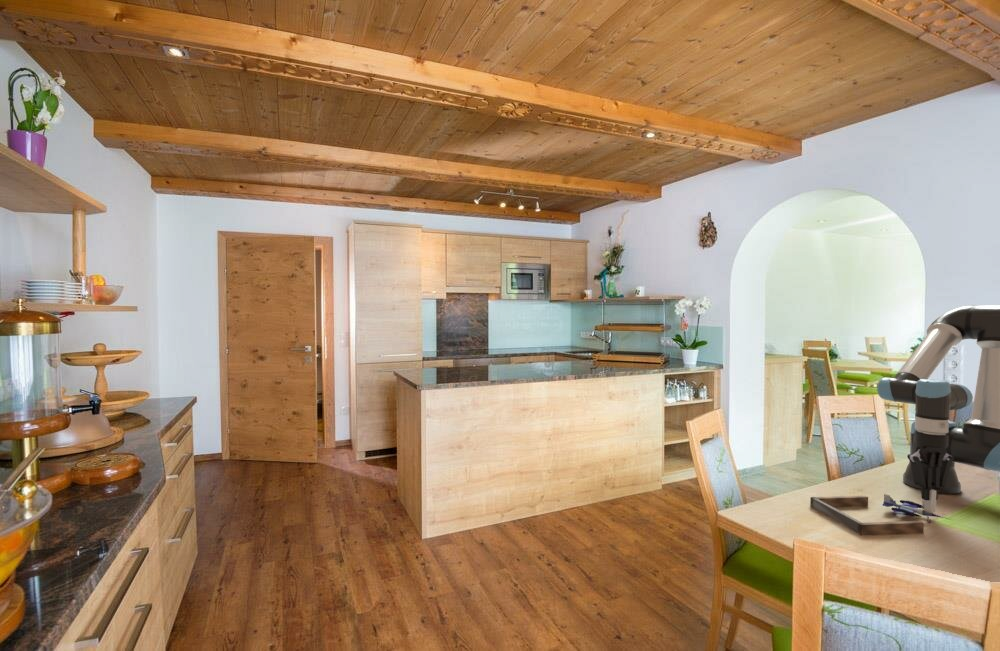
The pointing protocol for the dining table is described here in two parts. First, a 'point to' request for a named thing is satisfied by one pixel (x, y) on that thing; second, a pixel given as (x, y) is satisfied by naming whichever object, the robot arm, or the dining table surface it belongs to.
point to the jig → (872, 528)
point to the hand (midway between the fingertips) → (928, 510)
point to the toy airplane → (907, 508)
